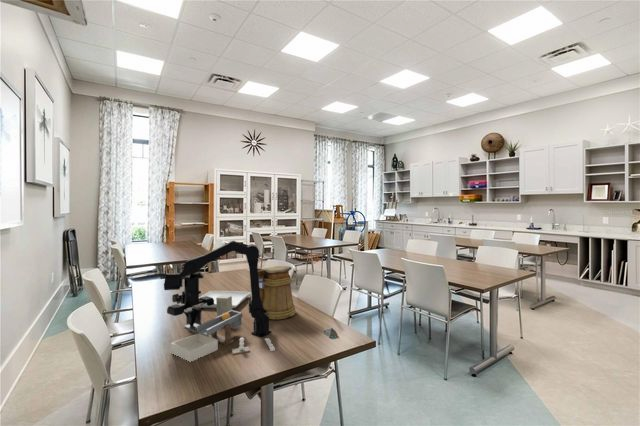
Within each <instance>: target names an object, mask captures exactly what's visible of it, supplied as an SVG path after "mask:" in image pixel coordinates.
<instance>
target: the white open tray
mask: <svg viewBox="0 0 640 426" xmlns="http://www.w3.org/2000/svg"><path fill="white" fill-rule="evenodd" d="M209 336H210V335H208V336H204V335H201V334H199V333H193V334H191V335H188V336H186V337H183V338H180V339H178V340H175V341H173V342H171V343H170V354H171V353H172V355H173V354H174V356H175V355H176V356H175V357H177V356H179V357H181V358H180V359H182V358H183V359H182V360H184V359H185V360H184V361H186V360H187V361H186V362H188V361H189V362H188V363H192V362H194V361H197V360H199V359H201V358H202V357H205V356H208V355H209V354H212V353H214V352H216V351H218V350H219V349H218V348H219V347H218V346H219V345H218V344H219V343H218V340H217V339H214V338H212V337H209ZM179 357H178V358H179ZM200 357H201V358H200ZM198 358H199V359H198ZM191 361H192V362H191Z"/></svg>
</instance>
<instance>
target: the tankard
mask: <svg viewBox="0 0 640 426" xmlns="http://www.w3.org/2000/svg"><path fill="white" fill-rule="evenodd" d="M291 270H292V267H291V266H288V265H279V266H271V267H265V268H264V267H263V268H260V267H258V278H259V279H261V278H264V279H263V280H262V283H263V284H264V288H260V287H259V289H260V298H261V302H262V305H263V308H264V309H265V310H266V311H267V313H268V316H269V321H270V320H271V321H272V320H274V321H276V320H284V319H288V318H291V317H293V316H295V314H296V313H297V312H296V306H295V304H294V301H293V294H292V293H293V292H292V287H291V286H292V285H291V283H292V278H291V277H292V276H291V275H290V274H289V273H290V272H289V271H291Z"/></svg>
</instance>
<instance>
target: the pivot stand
mask: <svg viewBox="0 0 640 426" xmlns="http://www.w3.org/2000/svg"><path fill="white" fill-rule="evenodd" d="M231 331H232V328H231V324H227V325H225V327H224V336H223V335H221V334H218V331H216V332H214V333H212V334H210V335H208V336H209V337H212V338H214V339H217V340H218V344H221V345H223V346H227V345H229V344H232V343H233V342H234V339H232V338H231V336H232V332H231Z"/></svg>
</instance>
